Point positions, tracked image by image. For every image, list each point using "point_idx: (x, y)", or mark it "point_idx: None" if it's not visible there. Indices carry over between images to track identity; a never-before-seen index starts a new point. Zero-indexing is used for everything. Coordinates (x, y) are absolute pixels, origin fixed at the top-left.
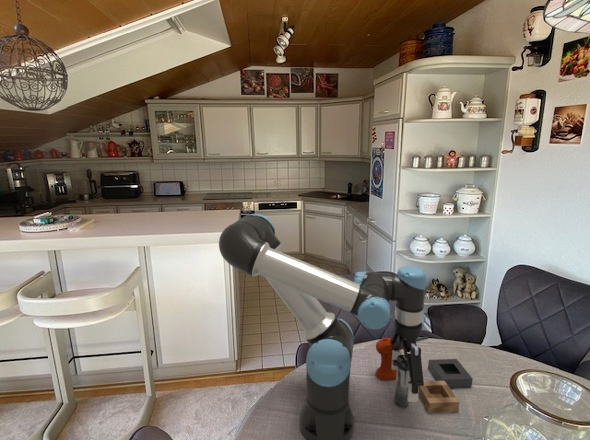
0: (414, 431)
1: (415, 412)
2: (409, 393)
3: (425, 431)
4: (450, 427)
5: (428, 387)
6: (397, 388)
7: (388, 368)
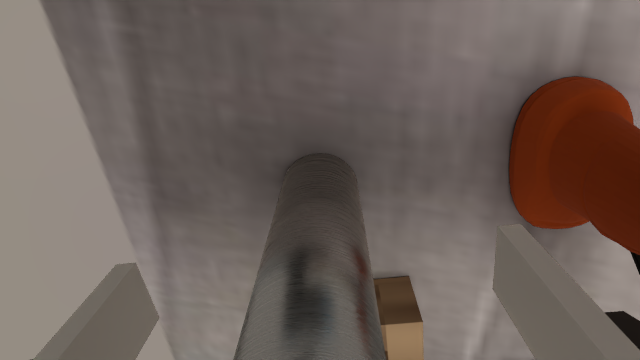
0: (134, 207)
1: (258, 239)
2: (65, 327)
3: (150, 252)
4: (200, 340)
5: (386, 352)
6: (287, 215)
7: (576, 186)
